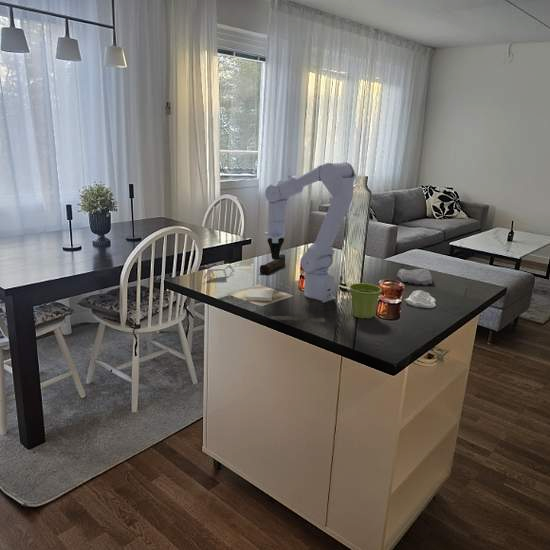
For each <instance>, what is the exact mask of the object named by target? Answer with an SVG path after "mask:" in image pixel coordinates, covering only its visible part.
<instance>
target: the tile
mask: <svg viewBox="0 0 550 550" xmlns="http://www.w3.org/2000/svg"><path fill="white" fill-rule="evenodd" d="M272 296H273V290H265V289H249V290H248V292H247V295H246V300H253V301H272Z"/></svg>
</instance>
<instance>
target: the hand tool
mask: <svg viewBox="0 0 550 550" xmlns="http://www.w3.org/2000/svg"><path fill="white" fill-rule="evenodd" d="M285 264H286V255H285V254H279V258H278V260H275V259H272V260H271V261H269V262H267V263H265V264H261V265H260V266H259V273H260V274H261V273H262V274H261V275H265V274H267V275H269V274H270V273H271V272H273V271H274V270H276V269H279V268H283V267H284V266H285Z"/></svg>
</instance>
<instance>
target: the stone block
mask: <svg viewBox="0 0 550 550" xmlns="http://www.w3.org/2000/svg"><path fill="white" fill-rule="evenodd" d="M396 275H397V278H398V277H399V278H400V279H401V281H403V282H408V283H407V284H412V283H414V285H419V284H422V285H421V286H428V284H432V285H433V278H432V274H431V272H430V270H428V269H425V268H417V269H412V270H409V269H405V268H400V269H399V270H398V272H397V274H396ZM399 278H398V279H399ZM400 279H399V280H400ZM401 281H400V282H401ZM403 282H402V283H403Z"/></svg>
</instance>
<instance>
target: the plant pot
mask: <svg viewBox="0 0 550 550" xmlns="http://www.w3.org/2000/svg"><path fill="white" fill-rule="evenodd" d="M348 287H349V290H350V294H351V308H352V310H351V311H352V315H353V316H354V318H358V319H368V320H369V319H372V318H373V317H374V315H375V311H376V307H377V304H378V300H379V296H380V294H381V292H382V290H383V289H382V287H380V286H378V285H376V284H371V283H366V282H365V283H360V282H359V283H352V284H349V286H348Z"/></svg>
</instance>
